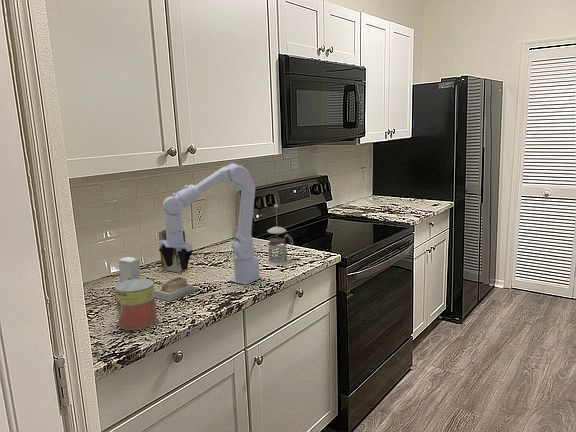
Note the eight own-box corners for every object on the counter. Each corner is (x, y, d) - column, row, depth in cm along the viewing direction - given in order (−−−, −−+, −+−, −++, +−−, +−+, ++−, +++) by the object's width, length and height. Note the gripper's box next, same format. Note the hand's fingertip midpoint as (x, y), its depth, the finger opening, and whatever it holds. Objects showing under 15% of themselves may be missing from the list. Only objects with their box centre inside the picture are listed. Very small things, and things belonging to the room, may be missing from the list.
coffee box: (188, 268, 195) (185, 230, 192) (178, 272, 189) (175, 234, 186) (171, 265, 199) (168, 228, 196) (160, 270, 194) (157, 232, 190)
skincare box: (120, 292, 169) (117, 259, 167) (129, 288, 173) (126, 256, 171) (132, 294, 166) (129, 261, 164) (142, 290, 170) (139, 258, 168)
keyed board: (179, 284, 176) (179, 279, 175) (199, 289, 170) (198, 284, 170) (149, 296, 164) (149, 291, 164) (169, 302, 159) (168, 296, 158)
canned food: (115, 319, 146) (111, 282, 143) (151, 311, 151) (148, 276, 149) (122, 333, 136) (118, 294, 134) (161, 324, 142) (158, 286, 139)
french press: (271, 257, 207) (269, 201, 202) (296, 259, 203) (295, 202, 198) (262, 264, 198) (260, 205, 193) (288, 266, 194) (287, 207, 189)
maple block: (162, 293, 165) (161, 282, 164) (179, 287, 171) (178, 276, 171) (170, 296, 163) (169, 284, 162) (187, 289, 169) (186, 278, 168)
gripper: (151, 230, 167) (154, 267, 169) (180, 235, 159) (183, 274, 161) (166, 226, 172) (169, 262, 175) (195, 231, 164) (197, 268, 167)
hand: (177, 267), depth 169 cm, fingers open, 7 cm apart
